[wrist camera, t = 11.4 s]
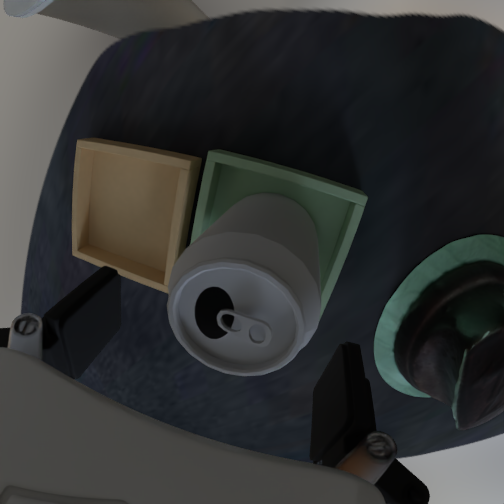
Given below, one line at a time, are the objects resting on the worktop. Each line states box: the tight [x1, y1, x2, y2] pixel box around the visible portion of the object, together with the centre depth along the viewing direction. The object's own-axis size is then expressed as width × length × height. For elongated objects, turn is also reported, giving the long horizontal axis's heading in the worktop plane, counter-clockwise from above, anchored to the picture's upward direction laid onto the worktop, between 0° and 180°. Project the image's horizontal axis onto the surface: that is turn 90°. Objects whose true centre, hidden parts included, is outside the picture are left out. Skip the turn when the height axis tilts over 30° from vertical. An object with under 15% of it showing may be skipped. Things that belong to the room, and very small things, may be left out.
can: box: [167, 192, 321, 376], centre depth 18 cm, size 8×8×12 cm
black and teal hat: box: [374, 235, 504, 430], centre depth 21 cm, size 15×19×20 cm
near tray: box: [190, 149, 368, 320], centre depth 22 cm, size 11×11×2 cm
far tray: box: [72, 138, 202, 293], centre depth 24 cm, size 11×11×2 cm
